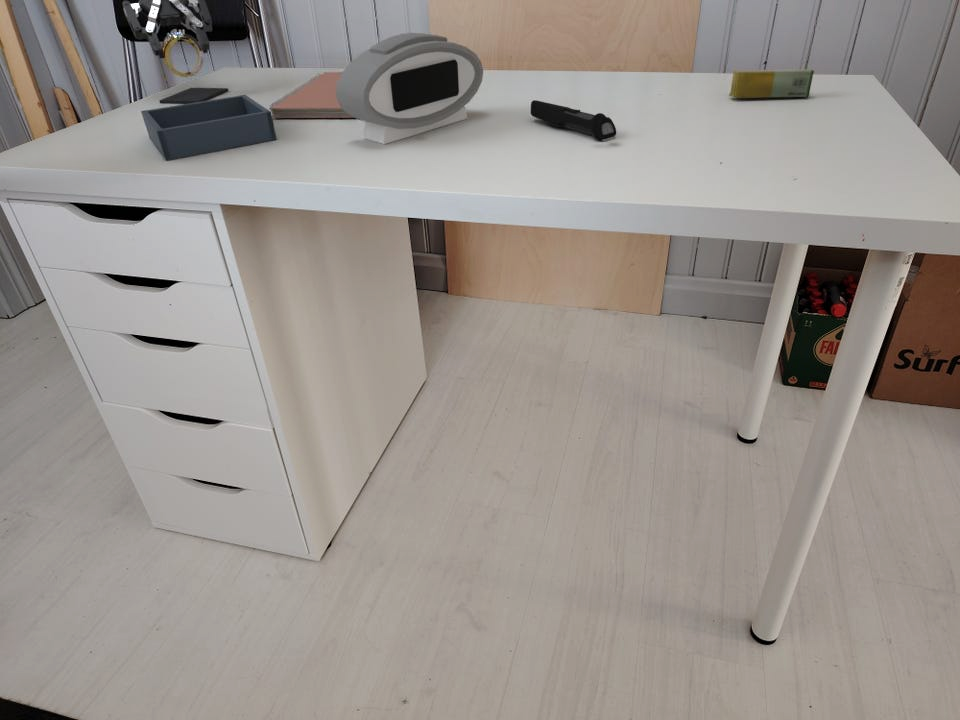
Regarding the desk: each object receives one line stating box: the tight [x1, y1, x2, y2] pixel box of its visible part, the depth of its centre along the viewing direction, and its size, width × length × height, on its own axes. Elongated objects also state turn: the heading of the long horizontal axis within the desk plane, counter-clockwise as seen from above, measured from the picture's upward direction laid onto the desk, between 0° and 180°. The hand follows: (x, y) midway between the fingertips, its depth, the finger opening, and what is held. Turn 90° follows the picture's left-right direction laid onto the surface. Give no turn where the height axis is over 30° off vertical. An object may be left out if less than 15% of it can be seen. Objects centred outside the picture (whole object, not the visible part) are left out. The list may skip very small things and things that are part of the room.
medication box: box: [728, 68, 815, 99], centre depth 103 cm, size 12×3×4 cm, turn 89°
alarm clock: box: [336, 32, 484, 145], centre depth 94 cm, size 23×6×13 cm, turn 136°
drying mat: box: [158, 87, 229, 105], centre depth 120 cm, size 10×8×1 cm
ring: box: [161, 28, 204, 79], centre depth 116 cm, size 7×3×8 cm, turn 132°
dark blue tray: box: [140, 94, 277, 162], centre depth 96 cm, size 16×14×4 cm
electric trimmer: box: [530, 99, 617, 142], centre depth 94 cm, size 4×16×3 cm, turn 38°
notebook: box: [269, 71, 356, 119], centre depth 114 cm, size 27×17×2 cm, turn 173°
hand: (184, 52), depth 115 cm, fingers closed on ring, 7 cm apart
